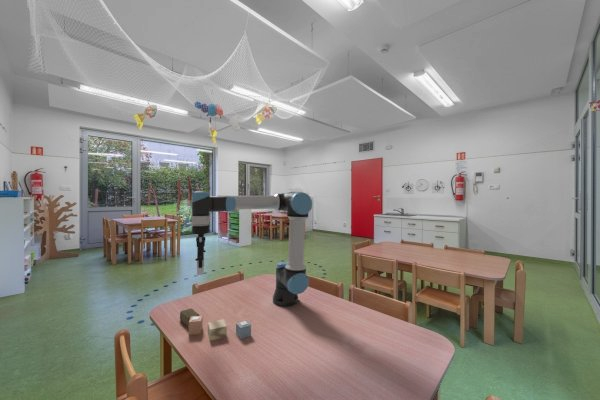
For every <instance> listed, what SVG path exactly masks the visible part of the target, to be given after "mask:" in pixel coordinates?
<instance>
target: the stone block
mask: <svg viewBox="0 0 600 400" xmlns="http://www.w3.org/2000/svg"><path fill="white" fill-rule="evenodd" d="M179 313H180V315H179V319H180V321H181V322H182V323H183V324H184V326H186V327H188V328H189V320H190V318H191V317H192V316H200V314H199V313H198V312H197V311H195V309H193V308H187V309H183V310H180V312H179Z"/></svg>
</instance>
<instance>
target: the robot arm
mask: <svg viewBox="0 0 600 400" xmlns="http://www.w3.org/2000/svg"><path fill="white" fill-rule="evenodd" d="M191 196H192V197H191V215H192V216H191V218H190V220H191V221H192V222H191V224H192V226H191V233H192V234H193V235H197V236H196V239H195V242H196V248H197V250H196V251H197V255H196V256H197V257H196V258H195V261H196V275H197V276H199V275H200V276H201V275H204V274H205V273H204V271H205V268H204V267H205V253H206V249H205V245H206V236H204V235H206V234H207V235H208V234H209V233H210V220H211V219H210V213H213V212H219V213H222V212H223V213H226V212H227V213H229V212H235V211H236V210H274V209H275V211H283V212H284V211H285V212H286V217H287V218H288V220H289V222H288V223H289V228H288V246H287V247H288V248H287V249H288V252H287V253H288V254H287V261H281V262H277V263H276V264H275V289H274V293H273V296H272V303H273V304H274V305H277V306H281V307H290V306H294V305H296V304H297V303H298V302H299V296H298V295H301V294H302V293H304V292H305V291H306V290H307V289H308V287H309V284H310V279H309V277H308V275H307V266H306V265H305V264H304V261H305V259H304V258H305V257H304V256H305V239H306V237H305V236H306V235H305V234H306V220H307V219H308V218H309V214H310V211H311V210H312V208H313V200H312V198H311V196H310V195H309V193H307V192H304V191H291V192H285V193H284V192H283V193H276V194H274V195H210V192H209V191H194V192H192V195H191Z"/></svg>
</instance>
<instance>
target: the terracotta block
mask: <svg viewBox="0 0 600 400" xmlns="http://www.w3.org/2000/svg"><path fill="white" fill-rule="evenodd" d="M203 319H204V317H203V315H199V316H192V317H191V318H190V320H189V327H188V336H193V335H201V333H202V331H203V325H204V324H203V323H204V322H203V321H204V320H203Z"/></svg>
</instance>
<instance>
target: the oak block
mask: <svg viewBox="0 0 600 400" xmlns="http://www.w3.org/2000/svg"><path fill="white" fill-rule="evenodd" d="M227 331H228V330H227V323H226V321H225V319H224V318H222V319H218V320H212V321H207V335H208V339H209V341H210V342H211V341H216V340H220V339H225V338H227Z"/></svg>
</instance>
